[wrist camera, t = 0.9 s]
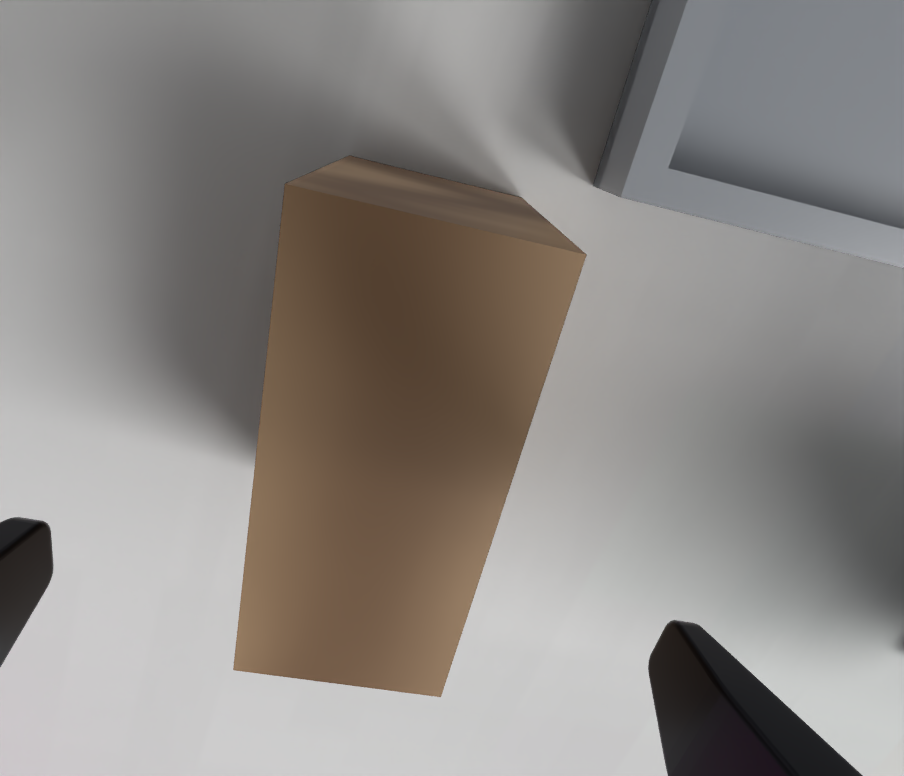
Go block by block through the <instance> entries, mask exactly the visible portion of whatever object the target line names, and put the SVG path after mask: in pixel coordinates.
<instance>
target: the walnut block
mask: <svg viewBox="0 0 904 776" xmlns="http://www.w3.org/2000/svg"><path fill="white" fill-rule="evenodd" d="M585 258H586V254H585V253H584V252H583V251H582V250H581V249H579V248H578V247H577V246H576V245H575V244H574V243H573V242H571V241H570V240H569V239H568V238H567V237H566V236H565V235H564V234H562V233H561V232H560V231H559V230H558V229H557V228H556V227H554V226H553V225H552V224H551V223H550V222H549V221H548V220H546V219H545V218H544V217H543V216H542V215H541V214H540V213H539V212H537V211H536V210H535V209H534V208H533V207H532V206H531V205H529V204H528V203H527V202H526V201H525V200H524V199H523V198H521V197H516V196H512V195H508V194H504V193H500V192H496V191H492V190H488V189H484V188H480V187H476V186H471V185H467V184H463V183H459V182H455V181H451V180H447V179H443V178H439V177H435V176H431V175H427V174H422V173H418V172H414V171H410V170H406V169H402V168H398V167H394V166H390V165H386V164H382V163H377V162H373V161H369V160H365V159H361V158H357V157H353V156H347V157H345V158H343V159H340V160H338V161H336V162H333V163H331V164H329V165H327V166H324V167H322V168H320V169H317V170H315V171H313V172H311V173H308V174H306V175H304V176H301V177H299V178H297V179H295V180H292V181H290V182H288V183H285V187H284V196H283V206H282V215H281V225H280V234H279V244H278V253H277V262H276V272H275V281H274V291H273V300H272V310H271V319H270V328H269V338H268V347H267V357H266V366H265V376H264V385H263V395H262V404H261V413H260V423H259V432H258V442H257V451H256V461H255V470H254V479H253V489H252V498H251V508H250V517H249V527H248V536H247V545H246V555H245V564H244V574H243V583H242V593H241V602H240V612H239V621H238V630H237V640H236V649H235V659H234V668H233V670H237V671H244V672H252V673H260V674H267V675H275V676H283V677H290V678H298V679H306V680H314V681H321V682H329V683H337V684H344V685H352V686H360V687H367V688H375V689H383V690H390V691H398V692H406V693H413V694H421V695H429V696H437V697H441V695H442V692H443V689H444V686H445V682H446V679H447V676H448V673H449V670H450V667H451V664H452V661H453V658H454V655H455V652H456V649H457V646H458V643H459V640H460V637H461V634H462V631H463V628H464V625H465V622H466V619H467V616H468V613H469V610H470V607H471V604H472V601H473V598H474V595H475V591H476V588H477V585H478V582H479V579H480V576H481V573H482V570H483V567H484V564H485V561H486V558H487V555H488V552H489V549H490V546H491V543H492V540H493V537H494V534H495V531H496V528H497V525H498V522H499V519H500V516H501V513H502V510H503V507H504V503H505V500H506V497H507V494H508V491H509V488H510V485H511V482H512V479H513V476H514V473H515V470H516V467H517V464H518V461H519V458H520V455H521V452H522V449H523V446H524V443H525V440H526V437H527V434H528V431H529V428H530V425H531V422H532V419H533V416H534V412H535V409H536V406H537V403H538V400H539V397H540V394H541V391H542V388H543V385H544V382H545V379H546V376H547V373H548V370H549V367H550V364H551V361H552V358H553V355H554V352H555V349H556V346H557V343H558V340H559V337H560V334H561V331H562V328H563V325H564V321H565V318H566V315H567V312H568V309H569V306H570V303H571V300H572V297H573V294H574V291H575V288H576V285H577V282H578V279H579V276H580V273H581V270H582V267H583V264H584V261H585Z"/></svg>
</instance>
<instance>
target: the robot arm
mask: <svg viewBox="0 0 904 776" xmlns="http://www.w3.org/2000/svg"><path fill="white" fill-rule="evenodd" d="M52 574H53V554H52V540H51V530H50V527H49V525H48V524H47V523H46V522H44V521H40V520H33V519H27V518H20V517H14V518H10V519H7V520H5V521H2V522H0V667H1V665H2V664H3V662H4V660H5V659H6V657H7V655H8V653H9V652H10V650H11V648H12V647H13V645H14V643H15V641H16V640H17V638H18V636H19V635H20V633H21V631H22V630H23V628H24V626H25V624H26V623H27V621H28V619H29V618H30V616H31V614H32V612H33V611H34V609H35V607H36V606H37V604H38V602H39V600H40V599H41V597H42V595H43V594H44V592H45V590H46V589H47V587H48V585H49V583H50V580H51V577H52ZM648 670H649V677H650V683H651V688H652V694H653V699H654V705H655V710H656V716H657V721H658V727H659V732H660V737H661V743H662V748H663V754H664V759H665V764H666V769H667V773H668V776H862V775H861V774H860V773H859V772H858V771H857V770H856V769H855V768H854V767H853V766H852V765H850V764H849V763H848V762H847V761H846V760H845V759H844V758H843V757H842V756H841V755H840V754H838V753H837V752H836V751H835V750H834V749H833V748H832V747H831V746H830V745H829V744H828V743H827V742H825V741H824V740H823V739H822V738H821V737H820V736H819V735H818V734H817V733H816V732H815V731H814V730H812V729H811V728H810V727H809V726H808V725H807V724H806V723H805V722H804V721H803V720H802V719H801V718H799V717H798V716H797V715H796V714H795V713H794V712H793V711H792V710H791V709H790V708H789V707H788V706H786V705H785V704H784V703H783V702H782V701H781V700H780V699H779V698H778V697H777V696H776V695H775V694H773V693H772V692H771V691H770V690H769V689H768V688H767V687H766V686H765V685H764V684H763V683H761V682H760V681H759V680H758V679H757V678H756V677H755V676H754V675H753V674H752V673H751V672H750V671H748V670H747V669H746V668H745V667H744V666H743V665H742V664H741V663H740V662H739V661H738V660H737V659H735V658H734V657H733V656H732V655H731V654H730V653H729V652H728V651H727V650H726V649H725V648H724V647H722V646H721V645H720V644H719V643H718V642H717V641H716V640H715V639H714V638H713V637H712V636H711V635H709V634H708V633H707V632H706V631H705V630H704V629H703V628H702V627H701V626H699V625H697V624H695V623H690V622H684V621H677V620H673V621H671V622H669V623H668V624H667V625H666V627H665V629H664V630H663V632H662V634H661V636H660V638H659V640H658V642H657V644H656V646H655V648H654V649H653V651H652V653H651V656H650V659H649V665H648Z"/></svg>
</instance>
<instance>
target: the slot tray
mask: <svg viewBox="0 0 904 776" xmlns="http://www.w3.org/2000/svg"><path fill="white" fill-rule="evenodd" d="M593 186H595V187H597V188H599V189H602V190H604V191H607V192H609V193H611V194H614V195H616V196H619V197H622V198H626V199H630V200H634V201H637V202H641V203H645V204H649V205H653V206H657V207H661V208H665V209H669V210H673V211H677V212H681V213H685V214H689V215H693V216H697V217H701V218H705V219H709V220H713V221H717V222H721V223H725V224H729V225H733V226H737V227H741V228H745V229H749V230H753V231H757V232H761V233H765V234H769V235H773V236H777V237H781V238H785V239H789V240H793V241H797V242H801V243H805V244H809V245H813V246H817V247H821V248H825V249H829V250H833V251H837V252H841V253H845V254H849V255H853V256H857V257H861V258H865V259H869V260H873V261H877V262H881V263H885V264H889V265H893V266H897V267H901V268H904V0H652V2H651V5H650V8H649V11H648V14H647V18H646V21H645V24H644V27H643V30H642V33H641V36H640V40H639V43H638V46H637V49H636V52H635V55H634V58H633V61H632V65H631V68H630V71H629V74H628V77H627V80H626V83H625V87H624V90H623V93H622V96H621V99H620V102H619V105H618V109H617V112H616V115H615V118H614V121H613V124H612V127H611V131H610V134H609V137H608V140H607V143H606V146H605V149H604V153H603V156H602V159H601V162H600V165H599V168H598V171H597V175H596V178H595V181H594V184H593Z"/></svg>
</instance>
